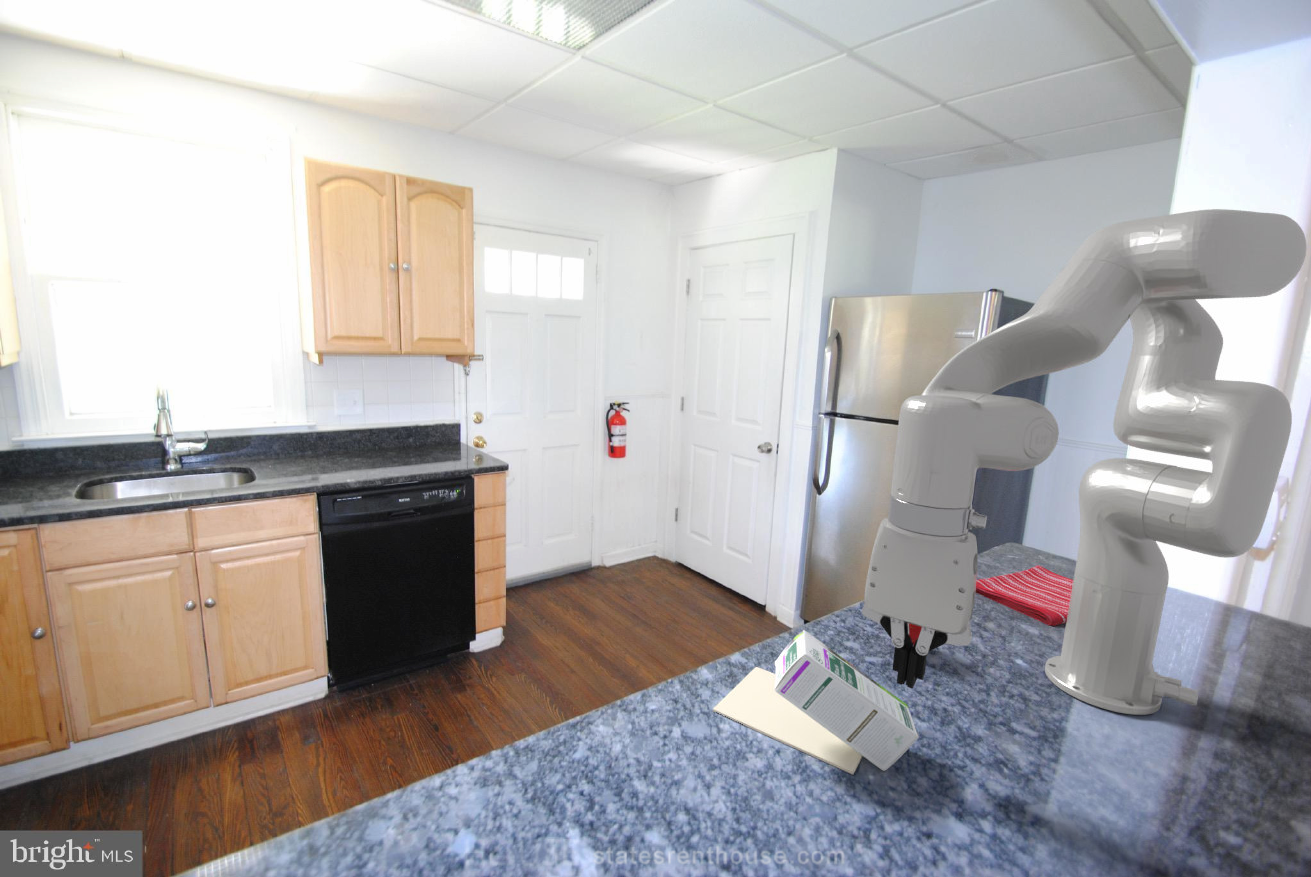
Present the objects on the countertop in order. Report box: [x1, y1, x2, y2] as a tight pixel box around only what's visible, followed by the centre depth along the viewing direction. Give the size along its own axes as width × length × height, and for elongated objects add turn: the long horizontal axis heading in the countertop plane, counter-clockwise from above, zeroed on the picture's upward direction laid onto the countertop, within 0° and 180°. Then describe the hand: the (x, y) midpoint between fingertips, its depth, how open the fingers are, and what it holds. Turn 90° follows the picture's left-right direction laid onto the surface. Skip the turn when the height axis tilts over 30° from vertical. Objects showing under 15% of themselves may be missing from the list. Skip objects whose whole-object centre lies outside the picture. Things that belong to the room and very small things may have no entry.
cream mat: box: [712, 666, 864, 775], centre depth 70 cm, size 17×12×1 cm
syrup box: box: [774, 629, 919, 772], centre depth 64 cm, size 6×6×14 cm
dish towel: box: [975, 564, 1074, 627], centre depth 109 cm, size 17×24×3 cm
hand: (907, 680), depth 62 cm, fingers closed
